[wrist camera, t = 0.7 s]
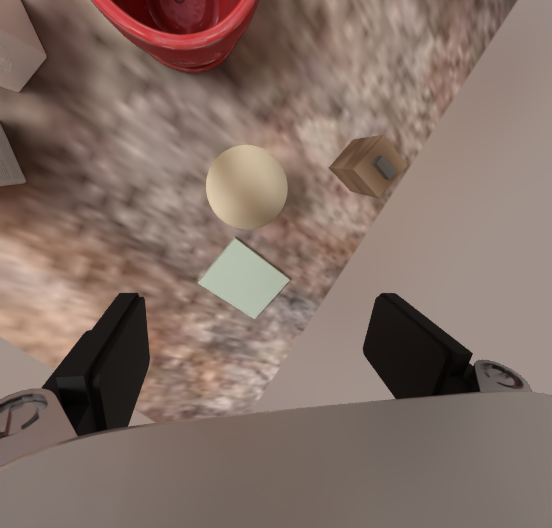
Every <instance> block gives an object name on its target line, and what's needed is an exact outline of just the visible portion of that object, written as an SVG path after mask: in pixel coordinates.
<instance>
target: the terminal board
mask: <svg viewBox="0 0 552 528" xmlns="http://www.w3.org/2000/svg"><path fill="white" fill-rule="evenodd" d="M289 280H290V279H289V278H288V277H287V276H286V275H284V274H283V273H282V272H281V271H279V270H278V269H277V268H275V267H274V266H273V265H271V264H270V263H269V262H267V261H266V260H265V259H263V258H262V257H261V256H260V255H258V254H257V253H256V252H254V251H253V250H252V249H250V248H249V247H248V246H246V245H245V244H244V243H242V242H241V241H240V240H239V239H237V238H236V237H234V238H233V239H232V241H231V242H230V243H229V244H228V246H227V247H226V248H225V249H224V250H223V252H222V253H221V254H220V255H219V256H218V258H217V259H216V260H215V261H214V262H213V264H212V265H211V266H210V267H209V268H208V270H207V271H206V272H205V273H204V275H203V276H202V277H201V278H200V279H199V281H198V284H200V285H202V286H203V287H205V288H206V289H208V290H209V291H211V292H213V293H214V294H216V295H217V296H219V297H220V298H222V299H224V300H225V301H227V302H228V303H230V304H231V305H233V306H235V307H236V308H238V309H239V310H241V311H242V312H244V313H245V314H247V315H249V316H250V317H252V318H253V319H255V318H256V317H257V316H258V315H259V314H260V313H261V312H262V310H263V309H264V308H265V307H266V306H267V305H268V304H269V303H270V302H271V300H272V299H273V298H274V297H275V296H276V295H277V294H278V293H279V292H280V290H281V289H282V288H283V287H284V286H285V285H286V284H287V283H288V282H289Z"/></svg>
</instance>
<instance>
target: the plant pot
mask: <svg viewBox="0 0 552 528" xmlns="http://www.w3.org/2000/svg"><path fill="white" fill-rule="evenodd" d="M91 1H92V2H93V4H94V5H95V6H96V7H97V8H98V9H99V11H100V12H101V13H102V14H103V15H104V16H105V17H106V18H107V19H108V20H109V21H110V22H111V23H112V24H113V25H114V26H115V27H116V28H117V29H118V30H119V31H120V32H121V33H122V34H123V35H124V36H125V37H126V38H127V39H129V40H130V41H131V42H132V43H134V44H135V45H136V46H138V47H139V48H141V49H142V50H144V51H145V52H147V53H148V54H150V55H151V56H152V57H153V58H155V59H156V60H158V61H159V62H161V63H162V64H164V65H166V66H168V67H170V68H173V69H176V70H179V71H184V72H202V71H206V70H209V69H212V68H214V67H216V66H217V65H219V64H220V63H222V62H223V61H224V60H225V59H226V58H227V57H228V56H229V54H230V53H231V52H232V50H233V49H234V47H235V46H236V44H237V41H238V40H239V39H240V37H241V36H242V35H243V33H244V32H245V30H246V29H247V27H248V25H249V23H250V21H251V19H252V17H253V14H254V12H255V9H256V7H257V4H258V1H259V0H91Z"/></svg>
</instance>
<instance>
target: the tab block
mask: <svg viewBox="0 0 552 528" xmlns="http://www.w3.org/2000/svg"><path fill="white" fill-rule="evenodd" d="M407 166H408V165H407V164H406V163H405V161H404V160H403V159H402V157H401V156H400V155H399V154H398V152H397V151H396V150H395V148H394V147H393V146H392V145H391V143H390V142H389V141H388V139H387V138H386V137H385V136H384V135H380V136H373V137H367V138H360V139H354V140H352V141H351V143H350V144H349V145H348V146H347V147H346V148H345V150H344V151H343V152H342V153H341V154H340V155H339V157H338V158H337V159H336V160H335V161H334V162H333V164H332V165H331V166H330V167H329V168H330V170H331V171H332V172H333V173H334V174H335V175H336V176H337V177H338V178H339V179H340V180H341V181H342V182H343V183H344V184H345V186H346V187H347V188H348V189H349V190H350V191H353V192H357V193H361V194H365V195H370V196H374V197H378V198H379V197H380V196H381V195H382V193H383V192H384V191H385V190H386V189H387V188H388V187H389V186H390V185H391V184H392V182H393V181H394V180H395V179H396V178H397V177H398V176H399V175H400V174H401V173H402V171H403V170H404V169H405V168H406V167H407Z"/></svg>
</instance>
